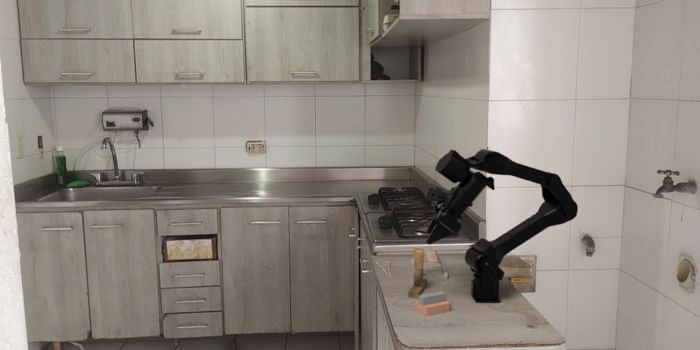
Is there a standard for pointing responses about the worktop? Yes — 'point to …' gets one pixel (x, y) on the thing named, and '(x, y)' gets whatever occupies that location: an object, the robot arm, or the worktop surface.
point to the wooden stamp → (418, 274)
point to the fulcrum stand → (432, 303)
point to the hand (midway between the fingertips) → (427, 237)
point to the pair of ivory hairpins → (383, 268)
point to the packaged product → (433, 265)
